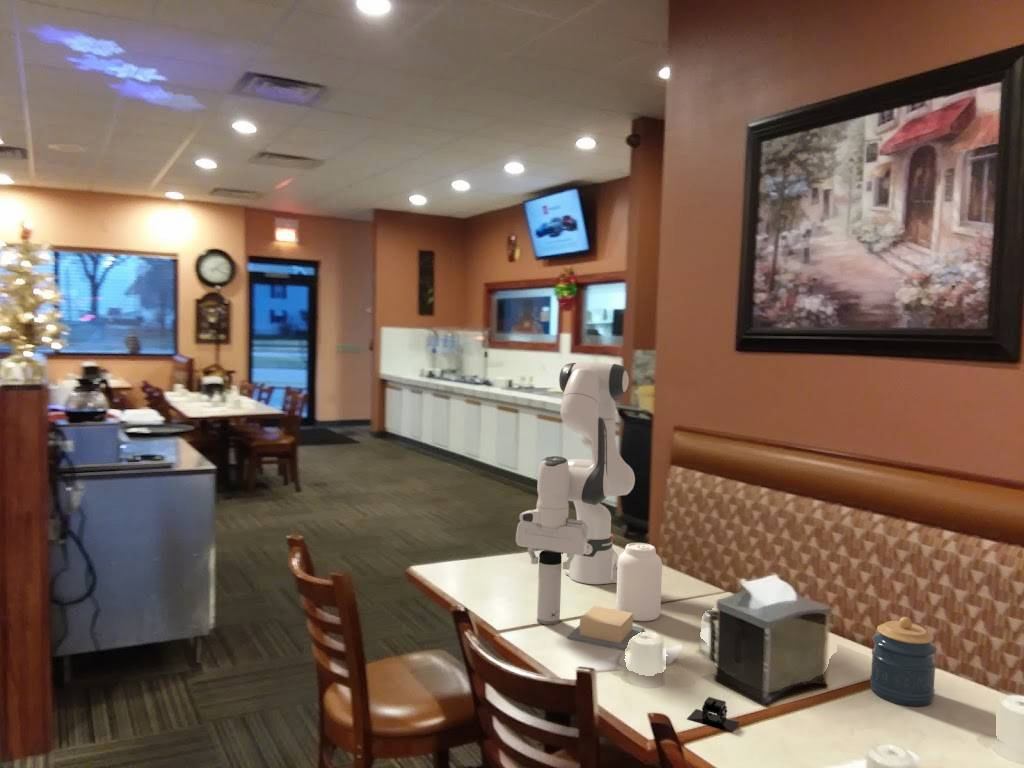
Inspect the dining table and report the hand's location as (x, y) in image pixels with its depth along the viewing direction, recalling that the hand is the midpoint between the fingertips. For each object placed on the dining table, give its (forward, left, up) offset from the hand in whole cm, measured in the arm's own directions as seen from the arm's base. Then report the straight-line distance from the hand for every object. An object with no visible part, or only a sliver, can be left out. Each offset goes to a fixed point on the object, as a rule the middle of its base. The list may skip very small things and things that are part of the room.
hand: (550, 566), depth 211 cm
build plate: (+34, +52, -16) cm, 64 cm away
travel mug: (0, 0, -16) cm, 16 cm away
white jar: (-18, +20, -16) cm, 31 cm away
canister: (+1, +87, -16) cm, 88 cm away
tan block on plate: (+1, +17, -16) cm, 23 cm away
